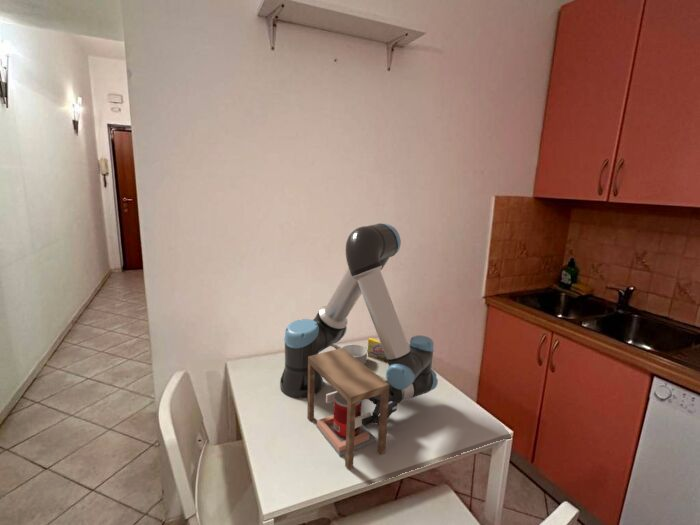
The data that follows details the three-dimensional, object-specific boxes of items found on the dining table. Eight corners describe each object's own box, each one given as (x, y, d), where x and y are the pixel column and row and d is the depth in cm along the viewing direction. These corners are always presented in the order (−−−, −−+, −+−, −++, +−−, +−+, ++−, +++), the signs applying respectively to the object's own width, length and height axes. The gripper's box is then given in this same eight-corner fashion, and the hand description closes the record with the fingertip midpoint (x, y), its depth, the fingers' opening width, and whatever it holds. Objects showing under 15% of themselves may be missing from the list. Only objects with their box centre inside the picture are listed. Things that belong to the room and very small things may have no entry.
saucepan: (331, 348, 161) (331, 337, 160) (371, 360, 152) (372, 348, 150) (316, 359, 151) (316, 347, 150) (359, 372, 142) (359, 359, 141)
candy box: (367, 356, 155) (367, 338, 153) (369, 355, 156) (370, 337, 155) (401, 368, 146) (402, 349, 144) (403, 366, 148) (405, 348, 146)
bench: (340, 406, 120) (342, 347, 115) (385, 452, 101) (389, 384, 96) (307, 418, 114) (308, 356, 109) (348, 469, 94) (351, 397, 89)
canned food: (357, 441, 103) (359, 406, 101) (330, 436, 105) (330, 402, 102) (362, 424, 110) (363, 391, 108) (336, 419, 112) (337, 387, 109)
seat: (349, 414, 116) (350, 407, 116) (375, 441, 105) (376, 433, 104) (316, 426, 110) (316, 419, 109) (339, 456, 99) (340, 448, 98)
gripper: (422, 423, 106) (361, 449, 95) (372, 382, 126) (317, 400, 115) (424, 400, 104) (363, 424, 93) (373, 362, 125) (317, 378, 113)
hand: (337, 411), depth 104 cm, fingers open, 13 cm apart
